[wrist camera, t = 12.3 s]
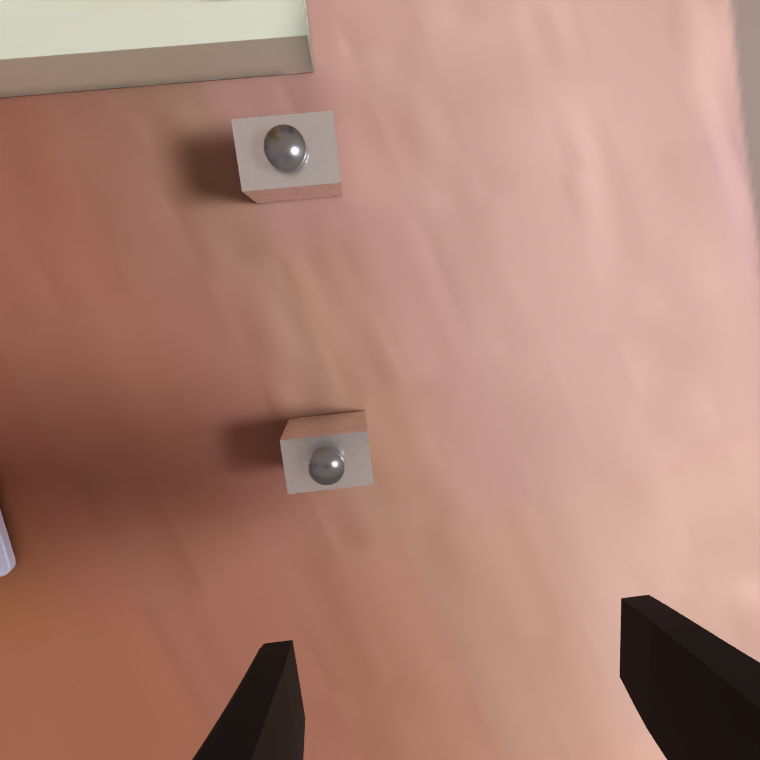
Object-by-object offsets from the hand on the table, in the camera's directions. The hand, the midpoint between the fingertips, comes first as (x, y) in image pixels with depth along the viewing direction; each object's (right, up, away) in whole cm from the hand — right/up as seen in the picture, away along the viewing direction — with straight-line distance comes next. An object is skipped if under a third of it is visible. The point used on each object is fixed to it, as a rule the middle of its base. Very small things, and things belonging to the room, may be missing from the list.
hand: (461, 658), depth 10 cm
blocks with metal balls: (-4, +9, +8) cm, 12 cm away
